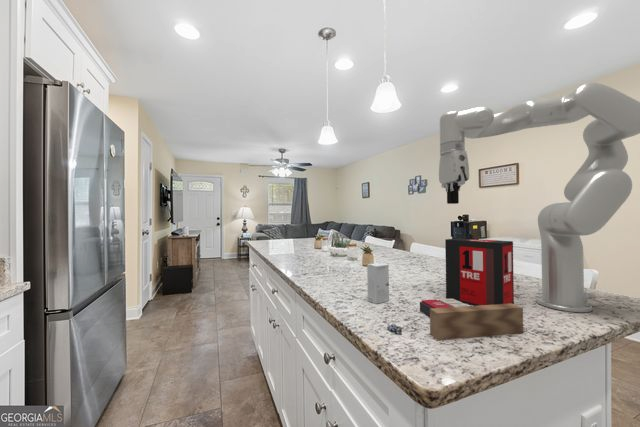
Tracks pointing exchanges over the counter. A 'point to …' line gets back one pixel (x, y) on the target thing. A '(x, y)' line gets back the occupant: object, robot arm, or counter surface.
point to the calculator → (439, 304)
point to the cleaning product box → (479, 271)
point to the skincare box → (378, 282)
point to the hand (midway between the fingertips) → (452, 203)
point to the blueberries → (395, 329)
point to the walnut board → (475, 321)
